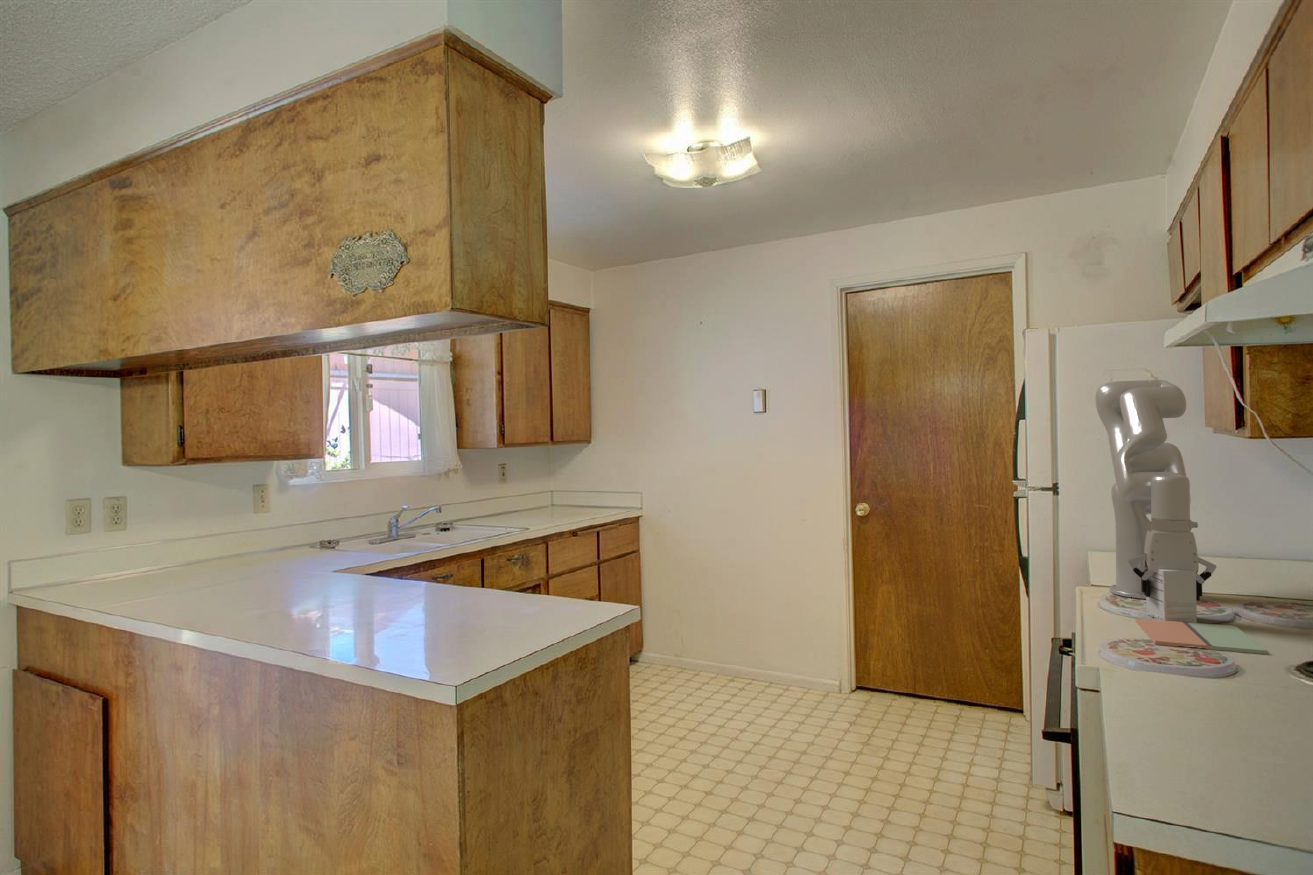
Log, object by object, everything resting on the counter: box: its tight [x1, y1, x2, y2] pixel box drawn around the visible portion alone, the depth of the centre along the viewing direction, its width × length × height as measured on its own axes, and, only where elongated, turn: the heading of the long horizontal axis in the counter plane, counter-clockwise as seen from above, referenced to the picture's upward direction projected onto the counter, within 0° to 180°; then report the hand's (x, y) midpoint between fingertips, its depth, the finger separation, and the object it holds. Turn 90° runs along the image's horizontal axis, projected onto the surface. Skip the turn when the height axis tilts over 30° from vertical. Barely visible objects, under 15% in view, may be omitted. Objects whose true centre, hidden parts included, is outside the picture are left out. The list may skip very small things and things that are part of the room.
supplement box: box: [1145, 565, 1198, 623], centre depth 167 cm, size 7×7×13 cm
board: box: [1135, 617, 1268, 655], centre depth 154 cm, size 18×19×1 cm
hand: (1171, 597), depth 167 cm, fingers open, 9 cm apart
